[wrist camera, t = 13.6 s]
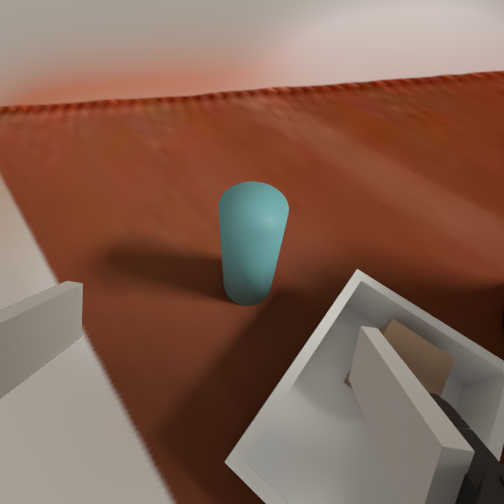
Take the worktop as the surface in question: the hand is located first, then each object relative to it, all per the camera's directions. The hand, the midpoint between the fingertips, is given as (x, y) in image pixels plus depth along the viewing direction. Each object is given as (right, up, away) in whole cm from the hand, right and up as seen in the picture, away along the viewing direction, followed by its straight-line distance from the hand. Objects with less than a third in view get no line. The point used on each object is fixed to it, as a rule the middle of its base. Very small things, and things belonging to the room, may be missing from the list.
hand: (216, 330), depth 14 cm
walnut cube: (+13, -7, +12) cm, 19 cm away
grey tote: (+11, -10, +11) cm, 18 cm away
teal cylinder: (+1, 0, +17) cm, 17 cm away
